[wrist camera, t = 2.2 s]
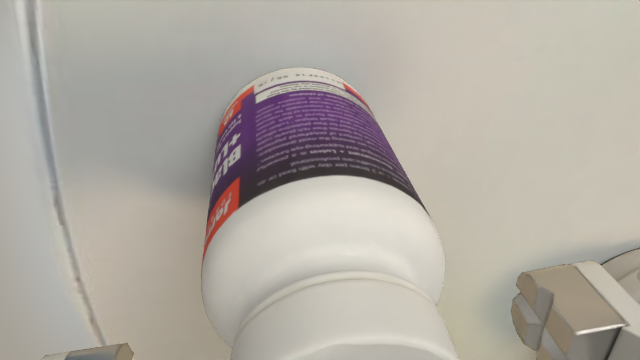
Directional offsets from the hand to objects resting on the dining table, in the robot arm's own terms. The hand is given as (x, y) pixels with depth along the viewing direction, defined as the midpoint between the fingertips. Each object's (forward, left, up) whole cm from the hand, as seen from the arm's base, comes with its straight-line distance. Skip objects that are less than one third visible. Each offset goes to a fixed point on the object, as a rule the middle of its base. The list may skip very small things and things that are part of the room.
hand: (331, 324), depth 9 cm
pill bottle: (0, 0, -8) cm, 8 cm away
